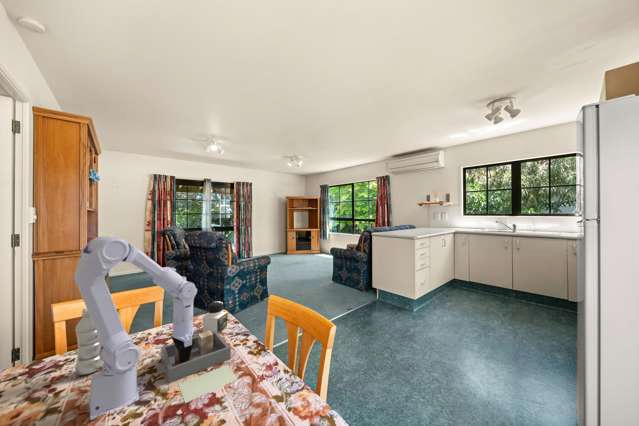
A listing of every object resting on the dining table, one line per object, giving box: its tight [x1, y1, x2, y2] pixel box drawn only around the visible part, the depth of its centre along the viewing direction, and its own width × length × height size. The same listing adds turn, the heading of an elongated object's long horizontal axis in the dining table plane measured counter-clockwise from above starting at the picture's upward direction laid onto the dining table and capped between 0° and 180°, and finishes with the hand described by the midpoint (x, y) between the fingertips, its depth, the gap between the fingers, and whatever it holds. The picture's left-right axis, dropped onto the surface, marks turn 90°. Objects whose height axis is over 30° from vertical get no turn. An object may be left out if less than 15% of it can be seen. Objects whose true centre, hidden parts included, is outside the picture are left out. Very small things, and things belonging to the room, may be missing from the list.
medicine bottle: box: [202, 300, 228, 335], centre depth 103 cm, size 7×7×12 cm
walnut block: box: [175, 346, 191, 366], centre depth 78 cm, size 4×4×6 cm
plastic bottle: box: [74, 307, 104, 376], centre depth 76 cm, size 6×7×20 cm
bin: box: [160, 331, 232, 384], centre depth 81 cm, size 18×16×4 cm
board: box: [178, 364, 238, 404], centre depth 70 cm, size 14×9×1 cm, turn 131°
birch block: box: [197, 331, 213, 355], centre depth 86 cm, size 4×4×6 cm
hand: (183, 359), depth 78 cm, fingers closed on walnut block, 4 cm apart
